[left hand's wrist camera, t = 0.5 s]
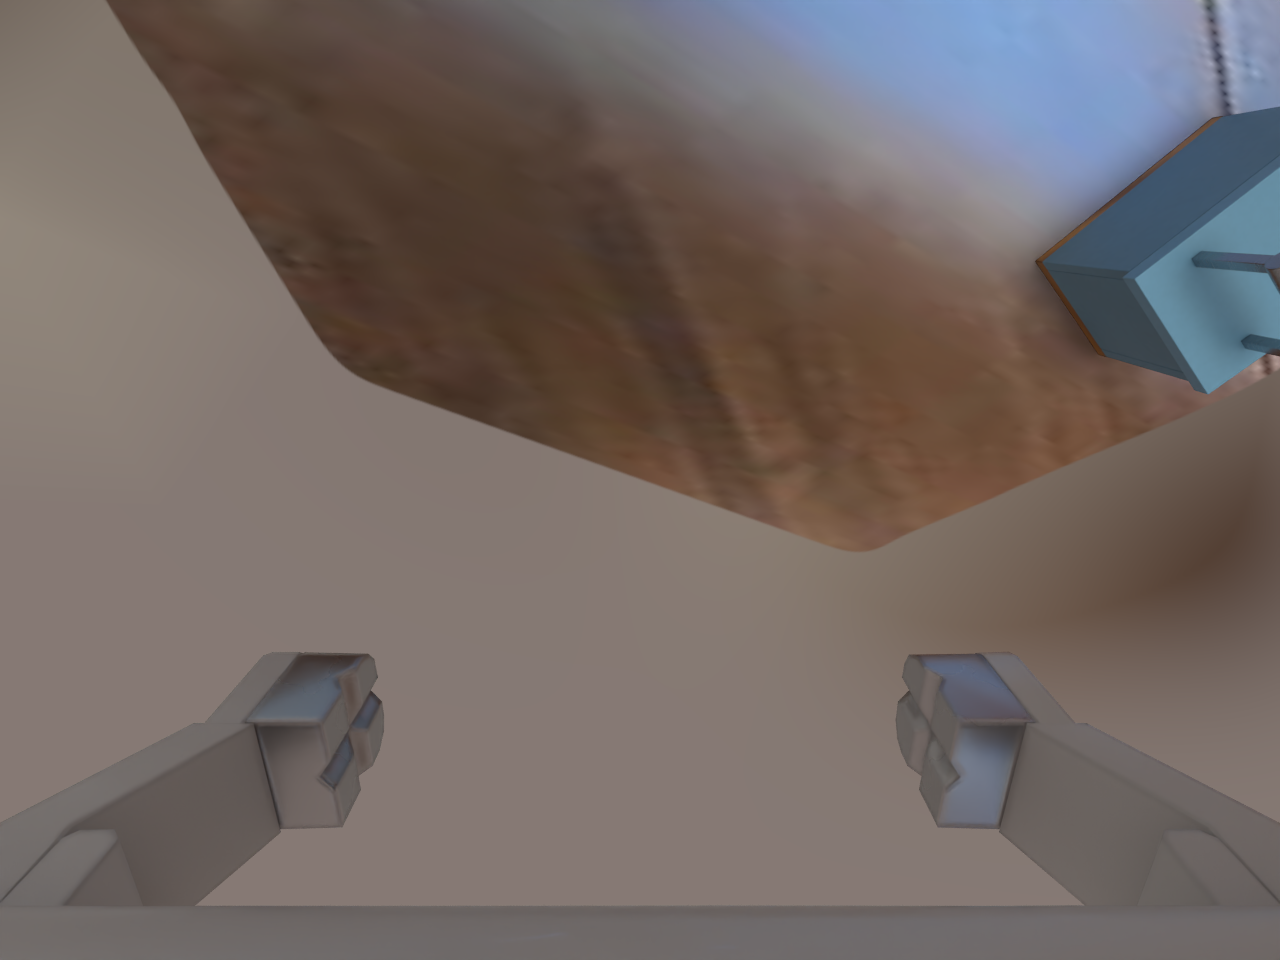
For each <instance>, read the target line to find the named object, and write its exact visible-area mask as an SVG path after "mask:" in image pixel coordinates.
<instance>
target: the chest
mask: <svg viewBox="0 0 1280 960" xmlns="http://www.w3.org/2000/svg"><path fill="white" fill-rule="evenodd" d="M1278 156H1280V107H1275V108H1270V109H1264V110H1258V111H1253V112H1247V113H1241V114H1235V115H1230V116H1224V117H1223V116H1220V117H1214V118H1212V119H1210V120H1209V121H1208V122H1207V123H1206V124H1204V125H1203V126H1202V127H1201V128H1199V129H1198V130H1197V131H1196V132H1194V133H1193V134H1192V135H1191V136H1189V137H1188V138H1187V139H1186V140H1185V141H1183V142H1182V143H1181V144H1180V145H1178V146H1177V147H1176V148H1175V149H1173V150H1172V151H1171V152H1170V153H1168V154H1167V155H1166V156H1165V157H1164V158H1162V159H1161V160H1160V161H1159V162H1157V163H1156V164H1155V165H1154V166H1152V167H1151V168H1150V169H1149V170H1147V171H1146V172H1145V173H1144V174H1143V175H1141V176H1140V177H1139V178H1138V179H1136V180H1135V181H1134V182H1133V183H1131V184H1130V185H1129V186H1128V187H1127V188H1125V189H1124V190H1123V191H1122V192H1120V193H1119V194H1118V195H1117V196H1115V197H1114V198H1113V199H1112V200H1110V201H1109V202H1108V203H1107V204H1106V205H1104V206H1103V207H1102V208H1101V209H1099V210H1098V211H1097V212H1096V213H1094V214H1093V215H1092V216H1091V217H1089V218H1088V219H1087V220H1086V221H1085V222H1083V223H1082V224H1081V225H1080V226H1078V227H1077V228H1076V229H1075V230H1073V231H1072V232H1071V233H1070V234H1068V235H1067V236H1066V237H1065V238H1064V239H1062V240H1061V241H1060V242H1059V243H1057V244H1056V245H1055V246H1054V247H1052V248H1051V249H1050V250H1049V251H1047V252H1046V253H1045V254H1044V255H1043V256H1041V257H1040V258H1039V259H1038V260H1036V261H1035V262H1036V263H1037V264H1038V266H1039V267H1040V269H1041V270H1042V272H1043V273H1044V275H1045V276H1046V278H1047V279H1048V281H1049V282H1050V284H1051V285H1052V287H1053V288H1054V289H1055V291H1056V292H1057V294H1058V295H1059V297H1060V298H1061V300H1062V301H1063V303H1064V304H1065V306H1066V307H1067V309H1068V310H1069V312H1070V313H1071V314H1072V316H1073V317H1074V319H1075V320H1076V322H1077V323H1078V325H1079V326H1080V328H1081V329H1082V331H1083V332H1084V334H1085V335H1086V336H1087V338H1088V339H1089V341H1090V342H1091V344H1092V345H1093V347H1094V348H1095V350H1096V351H1097V353H1098V354H1099V355H1101V356H1105V357H1110V358H1113V359H1116V360H1120V361H1123V362H1127V363H1130V364H1133V365H1137V366H1140V367H1143V368H1147V369H1150V370H1153V371H1157V372H1160V373H1163V374H1167V375H1170V376H1174V377H1177V378H1180V379H1184V380H1187V381H1188V379H1187V378H1186V376H1185V375H1184V373H1183V371H1182V370H1181V368H1180V367H1179V365H1178V364H1177V362H1176V361H1175V359H1174V357H1173V356H1172V354H1171V353H1170V351H1169V350H1168V348H1167V347H1166V345H1165V343H1164V342H1163V340H1162V339H1161V337H1160V336H1159V334H1158V332H1157V331H1156V329H1155V328H1154V326H1153V325H1152V323H1151V322H1150V320H1149V318H1148V317H1147V315H1146V314H1145V312H1144V311H1143V309H1142V308H1141V306H1140V304H1139V303H1138V301H1137V300H1136V298H1135V297H1134V295H1133V294H1132V292H1131V290H1130V289H1129V287H1128V286H1127V284H1126V283H1125V281H1124V280H1123V277H1124V276H1125V275H1126V274H1127V273H1129V272H1130V271H1131V270H1133V269H1134V268H1135V267H1136V266H1138V265H1139V264H1140V263H1142V262H1143V261H1144V260H1145V259H1147V258H1148V257H1149V256H1151V255H1152V254H1153V253H1154V252H1156V251H1157V250H1158V249H1160V248H1161V247H1162V246H1164V245H1165V244H1166V243H1167V242H1169V241H1170V240H1171V239H1173V238H1174V237H1175V236H1176V235H1178V234H1179V233H1180V232H1182V231H1183V230H1184V229H1185V228H1187V227H1188V226H1189V225H1191V224H1192V223H1193V222H1194V221H1196V220H1197V219H1198V218H1200V217H1201V216H1202V215H1203V214H1205V213H1206V212H1207V211H1209V210H1210V209H1211V208H1213V207H1214V206H1215V205H1216V204H1218V203H1219V202H1220V201H1222V200H1223V199H1224V198H1225V197H1227V196H1228V195H1229V194H1231V193H1232V192H1233V191H1234V190H1236V189H1237V188H1238V187H1240V186H1241V185H1242V184H1243V183H1245V182H1246V181H1247V180H1249V179H1250V178H1251V177H1252V176H1254V175H1255V174H1256V173H1258V172H1259V171H1260V170H1262V169H1263V168H1264V167H1265V166H1267V165H1268V164H1269V163H1271V162H1272V161H1273V160H1274V159H1276V158H1277V157H1278Z"/></svg>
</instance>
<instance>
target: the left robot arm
mask: <svg viewBox="0 0 1280 960" xmlns="http://www.w3.org/2000/svg"><path fill="white" fill-rule="evenodd" d="M377 678H378V675H377V671H376V666H375V661H374V659H373V658H372V657H371V656H370V655H369V654H351V653H306V652H305V653H300V652H272V653H269V654H266V655H264V656H263V657H262V658H261V659H260V660H259V661H258V662H257V663H256V664H255V666H254V667H253V668H252V669H251V670H250V671H249V673H248V674H247V675H246V676H245V677H244V678H243V679H242V681H241V682H240V683H239V684H238V685H237V686H236V688H235V689H234V690H233V691H232V692H231V693H230V694H229V695H228V697H227V698H226V699H225V700H224V701H223V702H222V704H221V705H220V706H219V707H218V708H217V709H216V710H215V712H214V713H213V714H212V715H211V716H210V717H209V718H208V720H207V721H206V722H205V723H194V724H191V725H189V726H187V727H186V728H184V729H182V730H180V731H178V732H176V733H174V734H172V735H170V736H168V737H166V738H164V739H162V740H160V741H158V742H156V743H154V744H152V745H151V746H149V747H147V748H145V749H143V750H141V751H139V752H137V753H135V754H133V755H131V756H129V757H127V758H125V759H123V760H121V761H119V762H117V763H116V764H114V765H112V766H110V767H108V768H106V769H104V770H102V771H100V772H98V773H96V774H94V775H92V776H90V777H88V778H86V779H84V780H82V781H81V782H79V783H77V784H75V785H73V786H71V787H69V788H67V789H65V790H63V791H61V792H59V793H57V794H55V795H53V796H51V797H49V798H47V799H46V800H44V801H42V802H40V803H38V804H36V805H34V806H32V807H30V808H28V809H26V810H24V811H22V812H20V813H18V814H16V815H15V816H12V817H11V818H9V819H7V820H5V821H3V822H1V823H0V960H1280V823H1279V822H1277V821H1275V820H1273V819H1271V818H1269V817H1267V816H1265V815H1263V814H1261V813H1259V812H1257V811H1255V810H1253V809H1252V808H1250V807H1248V806H1246V805H1244V804H1242V803H1240V802H1238V801H1236V800H1234V799H1232V798H1230V797H1228V796H1226V795H1224V794H1222V793H1220V792H1218V791H1217V790H1215V789H1213V788H1211V787H1209V786H1207V785H1205V784H1203V783H1201V782H1199V781H1197V780H1195V779H1193V778H1191V777H1189V776H1188V775H1186V774H1184V773H1182V772H1180V771H1178V770H1176V769H1174V768H1172V767H1170V766H1168V765H1166V764H1164V763H1162V762H1160V761H1158V760H1156V759H1155V758H1153V757H1151V756H1149V755H1147V754H1145V753H1143V752H1141V751H1139V750H1137V749H1135V748H1133V747H1131V746H1129V745H1127V744H1125V743H1124V742H1122V741H1120V740H1118V739H1116V738H1114V737H1112V736H1110V735H1108V734H1106V733H1104V732H1102V731H1100V730H1098V729H1096V728H1094V727H1093V726H1091V725H1089V724H1086V723H1075V722H1074V721H1073V720H1072V718H1071V717H1070V716H1069V715H1068V714H1067V713H1066V712H1065V710H1064V709H1063V708H1062V707H1061V706H1060V705H1059V704H1058V702H1057V701H1056V700H1055V699H1054V698H1053V697H1052V695H1051V694H1050V693H1049V692H1048V691H1047V690H1046V689H1045V687H1044V686H1043V685H1042V684H1041V683H1040V682H1039V681H1038V679H1037V678H1036V677H1035V676H1034V675H1033V674H1032V673H1031V671H1030V670H1029V669H1028V668H1027V667H1026V666H1025V664H1024V663H1023V662H1022V661H1021V660H1020V659H1019V658H1018V657H1017V656H1016V655H1014V654H1012V653H1010V652H991V653H975V654H920V655H909V656H908V658H907V660H906V662H905V664H904V670H903V675H902V678H903V680H904V682H905V683H906V685H907V687H908V689H909V691H908V692H907V693H906V694H905V695H904V696H903V697H902V698H901V699H900V700H899V701H898V706H897V714H896V729H897V739H898V743H899V746H900V750H901V753H902V755H903V757H904V759H905V761H906V764H907V766H909V767H910V768H911V769H913V770H914V771H916V772H917V773H918V774H920V775H921V782H920V788H919V790H920V792H921V794H922V796H923V798H924V800H925V802H926V804H927V806H928V808H929V810H930V812H931V814H932V816H933V818H934V820H935V822H936V825H937V826H938V827H943V828H978V829H1000V831H999V832H1000V833H1001V834H1002V835H1003V836H1004V837H1006V838H1007V839H1008V840H1009V841H1010V842H1011V843H1013V844H1014V845H1015V846H1016V847H1017V848H1018V849H1020V850H1021V851H1022V852H1023V853H1024V854H1025V855H1027V856H1028V857H1029V858H1030V859H1031V860H1032V861H1034V862H1035V863H1036V864H1037V865H1038V866H1040V867H1041V868H1042V869H1043V870H1044V871H1045V872H1047V873H1048V874H1049V875H1050V876H1051V877H1052V878H1054V879H1055V880H1056V881H1057V882H1058V883H1059V884H1061V885H1062V886H1063V887H1064V888H1065V889H1066V890H1068V891H1069V892H1070V893H1071V894H1072V895H1073V896H1075V897H1076V898H1077V899H1078V900H1079V901H1080V902H1082V903H1083V904H1084V905H1085V906H195V905H196V904H197V903H199V902H200V901H201V900H202V899H203V898H204V897H206V896H207V895H208V894H209V893H210V892H212V891H213V890H214V889H215V888H216V887H217V886H219V885H220V884H221V883H222V882H223V881H224V880H225V879H227V878H228V877H229V876H230V875H231V874H233V873H234V872H235V871H236V870H237V869H238V868H240V867H241V866H242V865H243V864H244V863H245V862H247V861H248V860H249V859H250V858H251V857H252V856H254V855H255V854H256V853H257V852H258V851H260V850H261V849H262V848H263V847H264V846H265V845H266V844H268V843H269V842H270V841H271V840H272V839H274V838H275V837H276V836H277V835H278V834H279V833H280V832H281V831H280V829H300V828H335V827H343V825H344V822H345V821H346V819H347V817H348V815H349V813H350V811H351V809H352V806H353V804H354V802H355V800H356V798H357V796H358V794H359V792H360V790H361V788H360V782H359V775H360V774H362V773H363V772H365V771H366V770H367V769H369V768H370V767H371V766H373V763H374V761H375V759H376V757H377V755H378V753H379V750H380V746H381V741H382V737H383V732H384V712H383V705H382V701H381V700H380V699H379V698H378V697H377V696H376V695H375V694H374V693H373V692H372V691H371V689H372V687H373V685H374V683H375V682H376V680H377Z"/></svg>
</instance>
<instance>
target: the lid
mask: <svg viewBox="0 0 1280 960" xmlns="http://www.w3.org/2000/svg"><path fill="white" fill-rule="evenodd" d="M1123 280H1124V281H1125V283H1126V284H1127V286H1128V287H1129V289H1130V290H1131V292H1132V294H1133V295H1134V297H1135V298H1136V300H1137V301H1138V303H1139V304H1140V306H1141V308H1142V309H1143V311H1144V312H1145V314H1146V315H1147V317H1148V318H1149V320H1150V322H1151V323H1152V325H1153V326H1154V328H1155V329H1156V331H1157V332H1158V334H1159V336H1160V337H1161V339H1162V340H1163V342H1164V343H1165V345H1166V347H1167V348H1168V350H1169V351H1170V353H1171V354H1172V356H1173V357H1174V359H1175V361H1176V362H1177V364H1178V365H1179V367H1180V368H1181V370H1182V371H1183V373H1184V375H1185V376H1186V378H1187V379H1188V381H1189V382H1190V384H1191V385H1192V387H1193V389H1194V390H1196V391H1199V392H1202V393H1205V394H1209V393H1211V392H1212V391H1214V390H1215V389H1217V388H1218V387H1219V386H1221V385H1222V384H1224V383H1225V382H1226V381H1228V380H1229V379H1231V378H1232V377H1234V376H1235V375H1236V374H1238V373H1239V372H1241V371H1242V370H1243V369H1245V368H1246V367H1248V366H1249V365H1251V364H1252V363H1253V362H1255V361H1256V360H1258V359H1259V358H1260V357H1262V356H1263V355H1265V354H1266V353H1267V354H1271V355H1276V356H1280V156H1278V157H1277V158H1276V159H1274V160H1273V161H1272V162H1271V163H1269V164H1268V165H1267V166H1265V167H1264V168H1263V169H1262V170H1260V171H1259V172H1258V173H1256V174H1255V175H1254V176H1252V177H1251V178H1250V179H1249V180H1247V181H1246V182H1245V183H1243V184H1242V185H1241V186H1240V187H1238V188H1237V189H1236V190H1234V191H1233V192H1232V193H1231V194H1229V195H1228V196H1227V197H1225V198H1224V199H1223V200H1222V201H1220V202H1219V203H1218V204H1216V205H1215V206H1214V207H1213V208H1211V209H1210V210H1209V211H1207V212H1206V213H1205V214H1203V215H1202V216H1201V217H1200V218H1198V219H1197V220H1196V221H1194V222H1193V223H1192V224H1191V225H1189V226H1188V227H1187V228H1185V229H1184V230H1183V231H1182V232H1180V233H1179V234H1178V235H1176V236H1175V237H1174V238H1173V239H1171V240H1170V241H1169V242H1167V243H1166V244H1165V245H1164V246H1162V247H1161V248H1160V249H1158V250H1157V251H1156V252H1154V253H1153V254H1152V255H1151V256H1149V257H1148V258H1147V259H1145V260H1144V261H1143V262H1142V263H1140V264H1139V265H1138V266H1136V267H1135V268H1134V269H1133V270H1131V271H1130V272H1129V273H1127V274H1126V275H1125V276H1124V277H1123Z"/></svg>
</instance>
